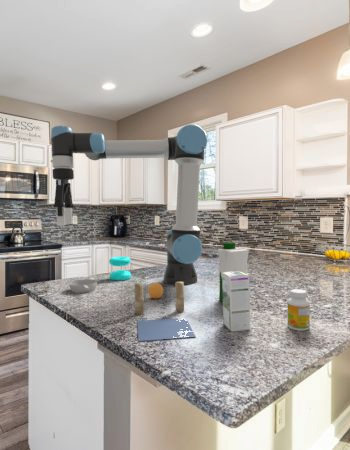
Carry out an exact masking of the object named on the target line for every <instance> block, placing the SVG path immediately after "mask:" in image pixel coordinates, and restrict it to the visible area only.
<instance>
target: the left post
mask: <svg viewBox="0 0 350 450" xmlns="http://www.w3.org/2000/svg"><path fill="white" fill-rule="evenodd" d="M144 309H145V308H144V284H143V283H142V282H141V283H138V282H137V283H135V284H134V314H135V315H136V316H139V315H140V316H141V315H142V316H143V315H144V313H145V312H144Z"/></svg>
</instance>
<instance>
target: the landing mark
mask: <svg viewBox="0 0 350 450" xmlns="http://www.w3.org/2000/svg"><path fill="white" fill-rule="evenodd" d="M176 320H178V319H177V318H163V319H159V318H158V319H144V320H137V340H138V342H139V343H140V342H153V341H154V342H155V341H164V340H163V339H170V340H174V339H173V336H174V337H177V338H178V337H179V336H180V335H178V333H177V332H179V331H183V332H184V331H186V330H187V331H189V330H190V331H193V329H192V327H191V325H190V322H189V321H188V320H187V321H185V320H184V319H183V320H180V321H181V322H179V320H178V321H176ZM187 323H188V324H187ZM186 327H188V328H186ZM180 329H183V330H180ZM182 335H185V332H184V333H182ZM186 336H189V337H196V338H197V336H196V334H195V332H194V331H193V332H188V333H187V334H186ZM182 338H184V336H183V337H182ZM184 339H185V338H184Z"/></svg>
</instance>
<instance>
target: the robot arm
mask: <svg viewBox="0 0 350 450" xmlns="http://www.w3.org/2000/svg"><path fill="white" fill-rule="evenodd" d="M50 130H51V135H50V136H51V138H50V140H51V142H50V145H51V157H52V159H51V160H50V163H52V168H53V169H52V170H51V171H52V179H53V180H55V194H54V195H55V196H54V203H53V208H56V210H55V212H56V226H66V225H72V224H73V208H75V206H74V204H73V198H72V197H73V196H72V189H71V182H69V180H70V181H72V180H73V179H75V176H74V175H75V174H74V166H75V165H74V154H84V155H85V157H87V158H88V159H89V160H91V161H99V160H107V159H156V158H157V159H158V158H160V159H161V158H162V159H165V160H166V161H174V162H175V163H176V164H177V165H178V168H177V188H176V192H177V193H176V210H175V214H176V215H175V225H174V226H173V227H172V228H171V229H169V230H168V231H167V232H166V257H167V258H166V267H165V271H164V274H163V283H166V284H168V285H169V284H170V285H175V282H184V285H191V284H194V283H195V284H196V283H197V282H198V275H197V272H196V268H195V265H194V263H195V262H197V260H198V259H200V257H201V256H202V252H203V244H202V241H201V233H202V232H201V229H200V227H199V226H198V216H199V215H198V213H199V211H198V210H199V193H200V192H199V191H200V169H201V168H200V167H201V165H202V164H203V163H204V162H205V150H206V148H207V144H208V135H207V133H206V131H205V130H204V129H203V128H202V127H201V126H199V125H197V124H192V123H191V124H187V125H185V126H183V127H181V128H180V129H179V130H178V132H177V135H175V136H171V137H165V138H164V139H136V140H135V139H134V140H133V139H131V140H130V139H126V140H125V139H124V140H122V139H119V140H117V139H116V140H115V139H114V140H113V139H112V140H110V139H109V140H105V135H104V134H103V133H99V132H73V130H72V127H70V126H64V125H55V126H53V127H52V128H51V129H50Z"/></svg>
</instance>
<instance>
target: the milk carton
mask: <svg viewBox="0 0 350 450" xmlns="http://www.w3.org/2000/svg"><path fill="white" fill-rule="evenodd" d="M217 254H218V261H219V263H218V264H219V265H218V266H219V299H218V300H219V301H221V303H223V291H222V273H224V272H231V271H240V272H243V273H245V274H247V275H248V267H247V266H248V265H247V264H248V258H249V254H250V249H245V248H240V247H236V242H232V241H231V242H229V241H228V242H227V241H226V242H223V248H217Z"/></svg>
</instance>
